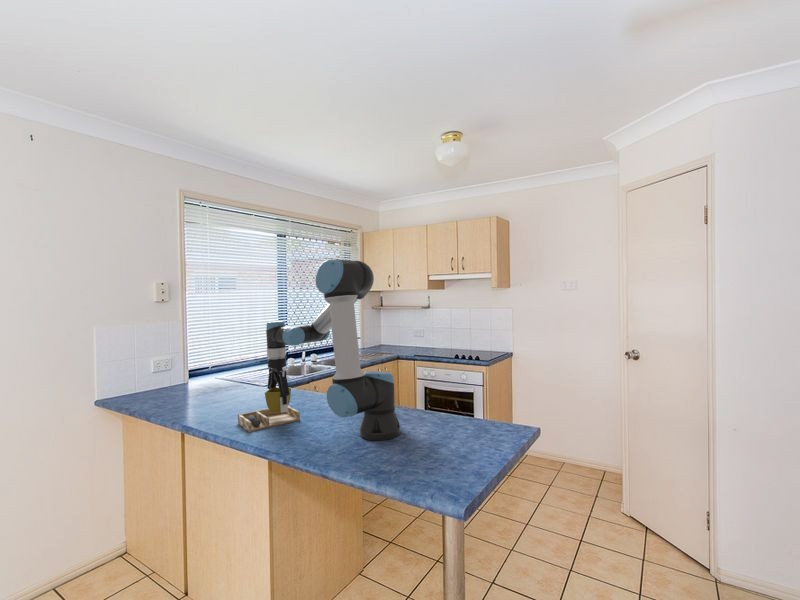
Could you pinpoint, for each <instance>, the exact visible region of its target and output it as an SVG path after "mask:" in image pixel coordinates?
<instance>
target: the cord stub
mask: <svg viewBox="0 0 800 600" xmlns="http://www.w3.org/2000/svg"><path fill="white" fill-rule="evenodd" d="M247 419H248V420H249V421H251V424H253V425H254V426H259V425H260V420H259V419H257V418H256V417H254V416H253V415H249V416H248V417H247Z"/></svg>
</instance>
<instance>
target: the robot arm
mask: <svg viewBox="0 0 800 600" xmlns="http://www.w3.org/2000/svg"><path fill="white" fill-rule="evenodd" d="M315 274H316V275H315V286H316V289H318V291H319V292H320V293H322V294H323V298H324V300H325V301H326V302H327V303H328V304H327V305H326V307H324V309H322V311H321V312H320V313H319V314H318V315H317V317H316V318H315V319H314V320H313V321H312V322H311V323H310V324H301V325H291V326H290V325H289V326H286V324H285V321H283V320H275V321H273V320H272V321H268V322H266V330H265V333H266V335H265V336H266V358H267V368H268V378H267V389H268V390H269V389H271V388H277V386H278V388H279V390H280V394H281V395H280V396H279V397H280V407H281V413H283V412H288V406H289V405H287V396H288V395H289V394H290V393H289V388H288V387H289V384H288V379H287V371H284V370H283V368H285V367H287V357H286V356H287V350H288V349H287V346H290V347H291V346H292V347H293V346H300V345H301V344H308V343H315V342H323V341H326V340H328V339H329V336H330V334H331V335H332V345H333V356H334V365H335V373H334V375H333V376H332V377H331V379H332V381H331V382H332V384H331V385H329V387H328V388H327V391H326V401H327V404H328V407H329V408H330V410H331V411H332V412H333V414H335V415H336V416H337V417H340V418H348V417H354V416H356V415H358V414H360V413H363V416H362V420H361V423H360V427H359V435H360V437H361V438H362V439H365V440H368V441H387V440H390V439H394V438H397V437H398V436H400V434H401V425H400V422H399V419H398V416H397V414H396V405H395V404H396V403H395V382H394V380H395V379H394V375H393V374H392V373H391V372H389V371H379V370H372V371H370V370H367V371H366V370H365V371H363V370H362V368H361V360H360V350H359V349H360V347H359V339H358V330H357V320H356V319H357V318H356V311H355V304H356V303H357V302H358V300H363V299H364V298H365V297H366V296H367V295H368V293H369V292H370V291H371V289H372V287H373V285H374V280H375V279H374V277H375V276H374V272H373V270H372V268H371V267H370V266H369V265H368V264H367V263H366V262H364V261H361V260H348V259H339V258H337V259H326V260H324V261H323V262H322V263H321V264H320V265H319V267H318V268H317V270H316V273H315Z"/></svg>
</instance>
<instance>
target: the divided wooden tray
mask: <svg viewBox="0 0 800 600" xmlns="http://www.w3.org/2000/svg"><path fill="white" fill-rule="evenodd" d="M249 415H253V416H254V417H256V418H257V419H259V420H260V425H259V426H254V425H253V424H251V421H249V420H248V419H247V417H248V416H249ZM300 415H301V413H300V411H299V410H297V409H296V408H293V407H292V406H289V405H288V412H283V413H281V412H271V411H270V410H269V408H268V407H267V408H264V409H259V410H254V411H249V412H244V413H239V414H237V424H238V425H239V426H241V427H242V428H243V429H244V430H246V431H247V432H248V433H252V432H257V431H261V430H264V429H269V428H274V427H278V426H282V425H286V424H291V423H295V422H299V421H301V418H300V417H301V416H300Z"/></svg>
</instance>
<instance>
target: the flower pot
mask: <svg viewBox="0 0 800 600" xmlns="http://www.w3.org/2000/svg"><path fill="white" fill-rule="evenodd" d="M288 388H289V393H290V394H289V395H288V396H287V405H288V406H289V404H290V402H291V393H292V392H291V391H292V387H291V386H290V387H289V386H288ZM280 395H281V394H280V390H279V387H276V388H271V389H268V390H266V391H265V392H264V398H265V403H266V406H267V409H268V408H269V410H270V411H271V412H281V407H280V397H279V396H280Z"/></svg>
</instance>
